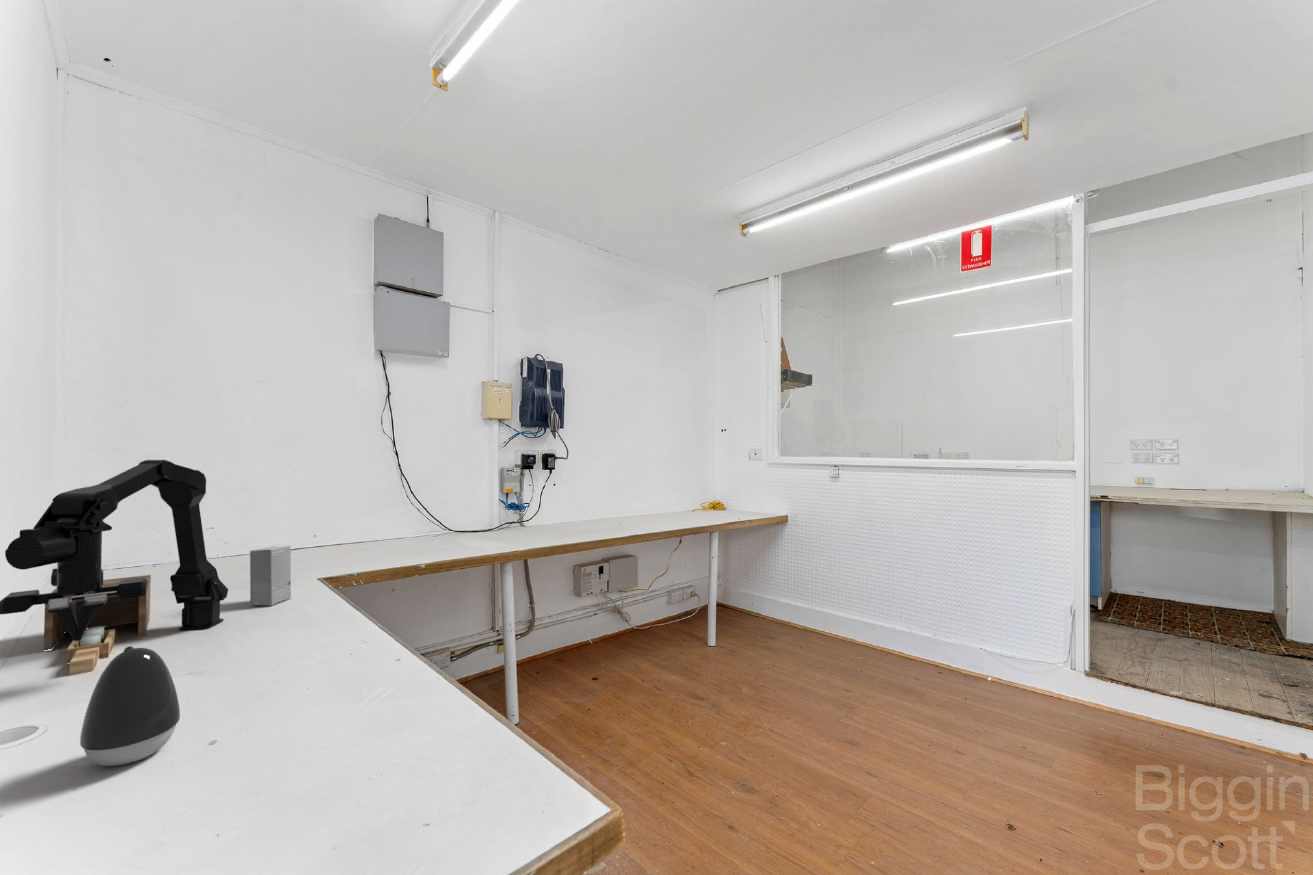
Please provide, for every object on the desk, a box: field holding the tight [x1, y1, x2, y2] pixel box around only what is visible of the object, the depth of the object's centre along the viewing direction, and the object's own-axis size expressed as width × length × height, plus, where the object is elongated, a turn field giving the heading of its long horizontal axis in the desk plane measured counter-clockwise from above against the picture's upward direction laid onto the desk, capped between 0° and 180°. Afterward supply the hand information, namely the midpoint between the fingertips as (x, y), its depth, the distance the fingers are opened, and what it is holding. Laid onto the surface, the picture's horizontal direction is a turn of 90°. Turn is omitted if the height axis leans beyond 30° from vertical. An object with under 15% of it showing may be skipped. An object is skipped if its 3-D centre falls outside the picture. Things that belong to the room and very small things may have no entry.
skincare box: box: [249, 545, 292, 607], centre depth 154 cm, size 8×7×16 cm
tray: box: [66, 626, 116, 676], centre depth 113 cm, size 20×6×4 cm, turn 41°
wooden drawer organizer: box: [43, 574, 152, 651], centre depth 127 cm, size 16×16×12 cm
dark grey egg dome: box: [79, 645, 181, 767], centre depth 77 cm, size 10×10×15 cm
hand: (78, 640), depth 102 cm, fingers closed
